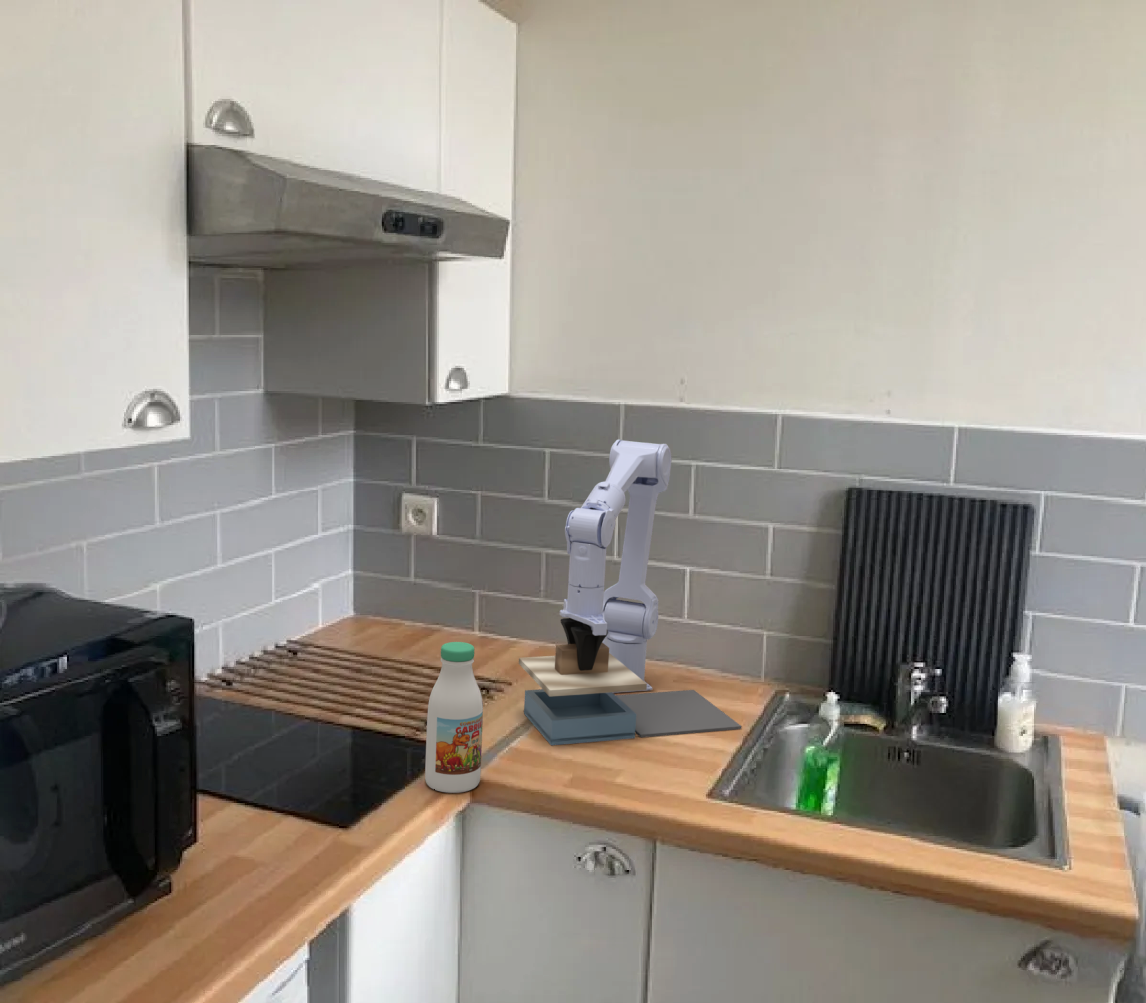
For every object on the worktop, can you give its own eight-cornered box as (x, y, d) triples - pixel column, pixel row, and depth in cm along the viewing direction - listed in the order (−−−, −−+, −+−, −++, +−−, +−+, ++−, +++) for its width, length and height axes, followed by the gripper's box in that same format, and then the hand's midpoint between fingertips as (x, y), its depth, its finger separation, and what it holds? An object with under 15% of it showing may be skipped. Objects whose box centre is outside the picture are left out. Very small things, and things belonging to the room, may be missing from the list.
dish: (523, 713, 187) (525, 690, 186) (602, 707, 192) (604, 685, 191) (551, 745, 174) (552, 720, 174) (634, 738, 179) (636, 714, 178)
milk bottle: (415, 787, 156) (419, 648, 153) (440, 767, 164) (445, 634, 160) (465, 798, 154) (471, 657, 151) (489, 778, 161) (495, 642, 158)
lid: (518, 663, 186) (520, 634, 185) (608, 658, 192) (610, 630, 191) (549, 696, 172) (551, 664, 171) (646, 689, 177) (648, 659, 176)
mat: (599, 699, 196) (599, 696, 196) (693, 692, 202) (693, 689, 202) (640, 737, 179) (640, 734, 179) (741, 729, 186) (741, 726, 185)
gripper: (547, 573, 184) (543, 653, 187) (578, 596, 171) (573, 682, 173) (588, 572, 187) (583, 651, 189) (621, 594, 173) (616, 679, 176)
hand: (581, 666), depth 181 cm, fingers closed on lid, 3 cm apart
